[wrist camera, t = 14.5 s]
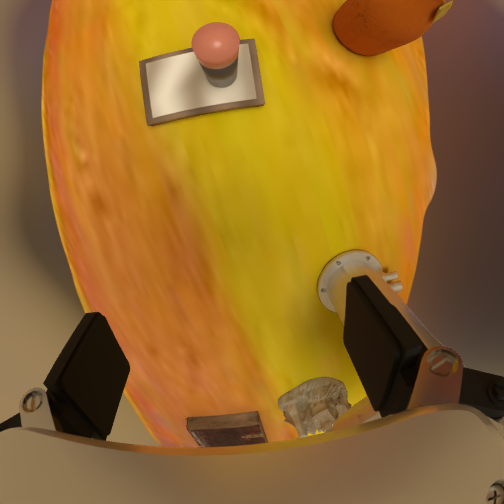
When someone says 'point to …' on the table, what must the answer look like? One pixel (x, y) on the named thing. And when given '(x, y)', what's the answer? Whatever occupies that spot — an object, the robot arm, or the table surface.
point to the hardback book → (227, 430)
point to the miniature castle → (314, 405)
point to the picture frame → (197, 86)
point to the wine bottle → (385, 23)
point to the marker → (217, 53)
